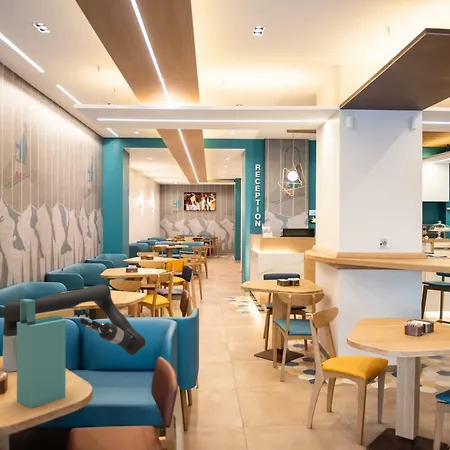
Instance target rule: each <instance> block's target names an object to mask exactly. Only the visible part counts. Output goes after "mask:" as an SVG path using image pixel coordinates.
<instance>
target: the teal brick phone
mask: <svg viewBox="0 0 450 450" xmlns="http://www.w3.org/2000/svg"><path fill="white" fill-rule="evenodd" d="M35 300H36V299H29V298H23V299H20V300H19V301H20V322H17V371H16V402H18V403H20V405H21V404H22V405H24V406H26V407H28V408H30V409H33V408H36V407H39V406H43V405H45V404H46V405H47V404H49V403H51V402H55V401H58V400H61V399H63V398H66V360H67V359H66V354H67V353H66V339H67V338H66V321H67V320H66V319H65V318H62V316H58V317H53V318H47V319H41V320H36V321H35ZM26 316H27V323H26Z"/></svg>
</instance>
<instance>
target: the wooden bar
mask: <svg viewBox="0 0 450 450" xmlns="http://www.w3.org/2000/svg"><path fill="white" fill-rule="evenodd" d="M58 316H62V319H66V318H67V319H68V318H71V317H75V309H74V308H69V309H63V310H57V311H51V312H45V313H39V314H35V321H36V320H41V319H47V318H53V317H58ZM26 323H27V316H26Z"/></svg>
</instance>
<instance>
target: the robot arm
mask: <svg viewBox="0 0 450 450" xmlns="http://www.w3.org/2000/svg"><path fill="white" fill-rule="evenodd" d="M34 300H35V314H39V313H45V312H51V311H57V310H63V309H69V308H71V309H74V308H75V307H76V306H79V305H81V304H83V303H88V302H93V303H94V304H95V305H96V306H98V307H99V309H100V310H101V311H102V312H103V313H104V314H105V315H106V317H107V318H108V320H109V321H110V322H111V323H110V322H106V323H102V322H101V323H100V322H98V321H96V320H92V321H90V320H87V319H85V318H83V317H82V318H80V319H79V321H78V322H79V323H80V324H82V325H83V326H84V327H86V328H88V329H90V330H93V331H95V332H96V333H98V335H99V337H100V338H101V339H102V340H105V341H106V342H109V343H111V344H116V345H117V346H120V347H121V348H122V349H123V350H124V351H125V352H126V354H128V355H130V356H133V355H136V354H137V353H138V352H140V351H141V350H142V349H143V348H144V347H145V346H146V344H147V340H146V339H145V336H143V335H142V334H140V333H139V332H138V331H137V330H136V329H135V327H134V328H133V326H132V325H131V323H130V321H129V320H128V319H127V318H126V316H125V315H124V314H123V313H122V311H120V310H119V309H118V308H117V306H116V304H115V303H114V301H113V298H112V293H111V288H110V287H109V286H108V285H106V284H103V283H99V284H95V285H92V286H88V287H84V288H81V289H75V290H69V291H64V292H57V293H53V294H48V295H46V296H41V297H40V298H36V299H34ZM1 316H2V318H3V322H4V323H3V328H2V329H3V330H2V337H3V338H2V371H3V372H7V373H8V372H9V373H13V372H17V322H20V300H15V299H14V300H10V301H9V302H6V303H5V305H4V306H3V308H2V310H1Z"/></svg>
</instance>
